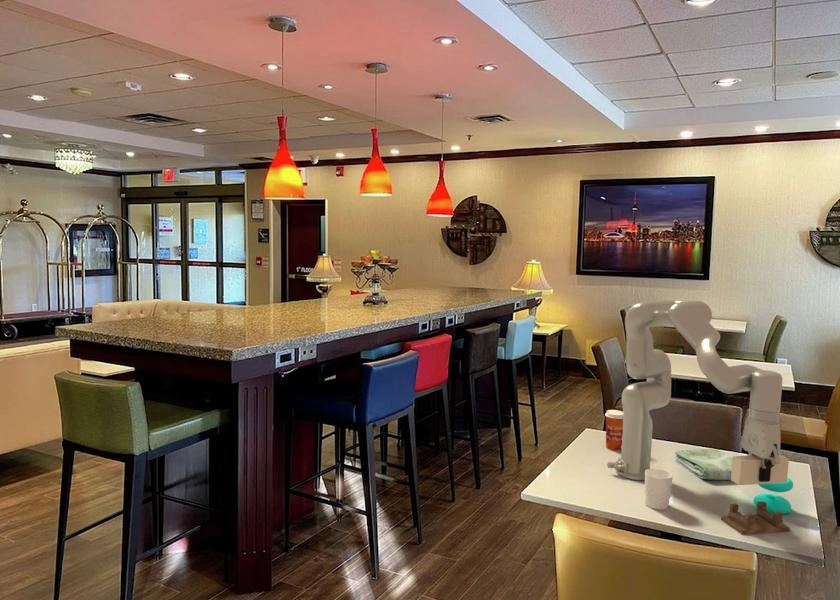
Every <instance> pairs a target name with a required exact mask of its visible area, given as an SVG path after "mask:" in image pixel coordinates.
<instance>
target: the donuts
mask: <svg viewBox="0 0 840 600" xmlns="http://www.w3.org/2000/svg"><path fill="white" fill-rule="evenodd" d="M757 485H758V486H760V487H761V488H762V489H764V490H766V491H769V492H768V493H767V492H763V493H758V494H757V495H755V496H754V497H753V504H754V506H755V507H756V508H757V503H758V502H765V503H767V504H766V510H767V511H769V512H770V513H772V514H774V512H779V511H780V512H782V513H783V515H786V514H788V513H790V512H791V510H792V505H791V503H790V502H789V500H788V499H786V498H785V497H783V496H781V495H778V494H776V493H787V492H789V491H791V490H792V489H793V487H794V482H793V480H792V479H791V478H790V477H788V476H787V483H769V484H757ZM771 492H774V493H771Z"/></svg>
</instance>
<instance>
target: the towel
mask: <svg viewBox="0 0 840 600" xmlns="http://www.w3.org/2000/svg"><path fill="white" fill-rule="evenodd" d="M732 460H733V456H730V455H728V454H726V453H724V452H723V451H721V450H718V449H717V448H716V449H715V448H689V449H680V450H677V451H675V462H676V461H677V462H676V463H678V464H679V465H680V464H681V465H682V468H684V467H685V468H684V469H686V470H687V469H688V470H689V471H688V470H687V471H688V472H689V473H691V474H692V475H694V476H695V477H697V478H699V479H701V480H714V481H715V480H716V481H718V480H719V481H731V472H732ZM681 465H680V466H681Z"/></svg>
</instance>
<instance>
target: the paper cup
mask: <svg viewBox="0 0 840 600" xmlns="http://www.w3.org/2000/svg"><path fill="white" fill-rule="evenodd" d="M604 415H605V448H606V449H607V450H611V451H622V436H623V410H618V409H608V410H606V413H605V414H604Z"/></svg>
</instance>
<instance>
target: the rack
mask: <svg viewBox="0 0 840 600" xmlns="http://www.w3.org/2000/svg"><path fill="white" fill-rule="evenodd" d="M766 504H767V503H765V502H758V503H757V507H756V512H755V513H751V512H749V513H745V514H743V513H741V512H739V507H740V506H739V504H738V503H736V502H734V503H732V502H731V503H729V506H728V515H722V516H720V521H722V522H724V523H725V524H726V525H728V526H729V527H730V528H732V529H733V530H735V531H736V532H738V533H739V534H740V535H751V534H765V533H779V532H780V533H781V532H790V530H791V528H790V526H788V525H786V524H785V523H784V521H783V520H784V519H783V517H784V514H783V513H782V512H780V511H779V512H774V514H772V513H770V512H769V511H767V510H766Z"/></svg>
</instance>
